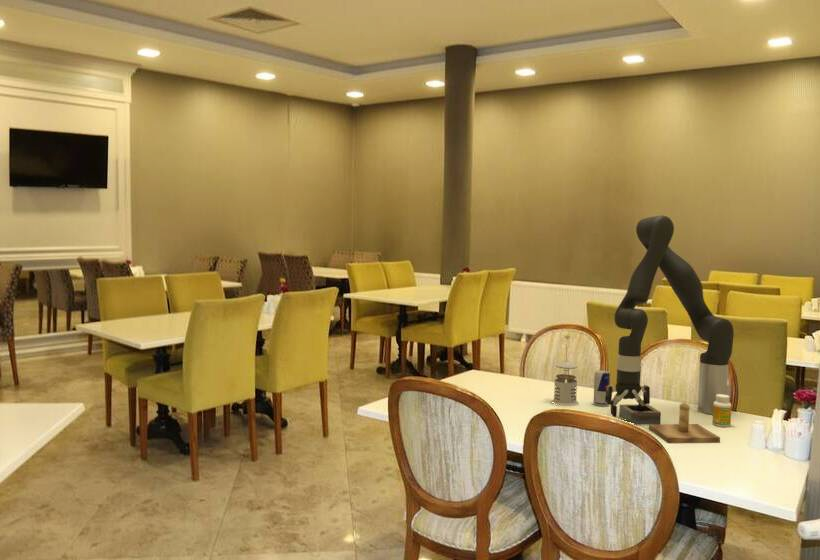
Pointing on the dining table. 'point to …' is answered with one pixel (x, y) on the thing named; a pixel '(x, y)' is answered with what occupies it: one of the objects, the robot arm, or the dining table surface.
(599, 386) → the energy drink
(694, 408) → the dining table surface
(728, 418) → the supplement bottle
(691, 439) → the keeper board
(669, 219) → the robot arm
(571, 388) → the french press
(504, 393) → the dining table surface
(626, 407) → the steel link
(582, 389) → the dining table surface
